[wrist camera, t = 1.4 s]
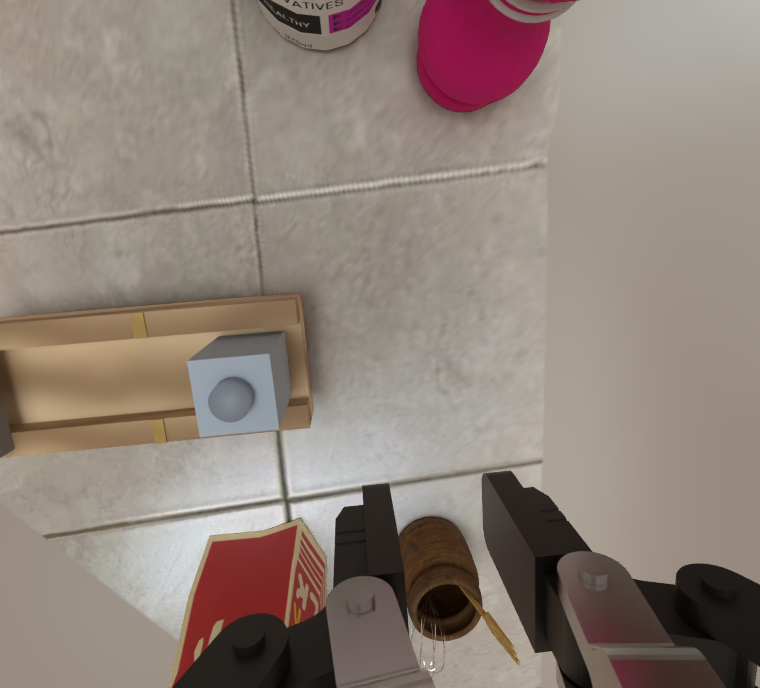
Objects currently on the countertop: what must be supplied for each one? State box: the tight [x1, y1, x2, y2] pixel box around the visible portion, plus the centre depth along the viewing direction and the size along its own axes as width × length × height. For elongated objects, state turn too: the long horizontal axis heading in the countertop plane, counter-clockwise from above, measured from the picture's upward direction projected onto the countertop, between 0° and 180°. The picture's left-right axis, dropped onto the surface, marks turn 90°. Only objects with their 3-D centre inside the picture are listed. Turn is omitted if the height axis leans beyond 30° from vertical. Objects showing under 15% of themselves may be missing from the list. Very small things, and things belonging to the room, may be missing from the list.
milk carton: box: [169, 519, 326, 688], centre depth 29 cm, size 9×9×20 cm
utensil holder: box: [399, 518, 520, 677], centre depth 34 cm, size 6×6×12 cm
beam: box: [0, 293, 314, 458], centre depth 30 cm, size 8×20×10 cm, turn 94°
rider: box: [187, 331, 292, 437], centre depth 26 cm, size 4×4×7 cm
